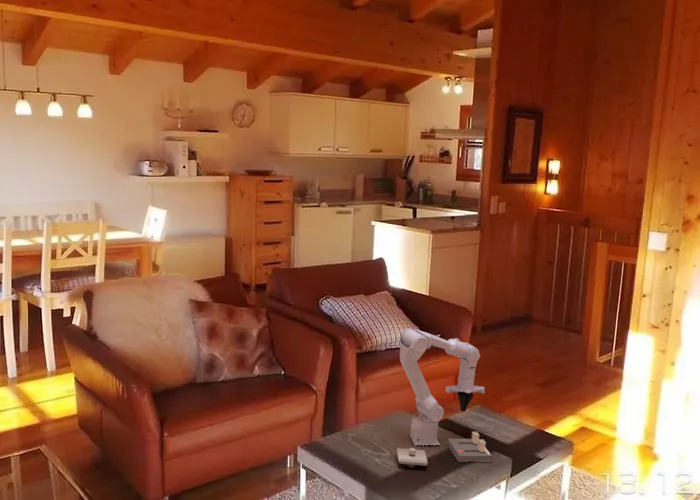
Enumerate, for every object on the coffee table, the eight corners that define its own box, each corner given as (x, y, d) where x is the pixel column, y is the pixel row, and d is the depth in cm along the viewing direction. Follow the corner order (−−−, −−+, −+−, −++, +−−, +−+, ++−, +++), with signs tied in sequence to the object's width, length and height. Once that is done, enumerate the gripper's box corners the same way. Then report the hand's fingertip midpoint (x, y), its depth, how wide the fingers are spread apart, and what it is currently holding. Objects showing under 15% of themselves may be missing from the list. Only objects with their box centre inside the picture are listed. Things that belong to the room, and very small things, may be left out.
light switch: (423, 457, 228) (425, 443, 227) (427, 471, 218) (428, 457, 217) (395, 455, 227) (397, 441, 227) (398, 469, 218) (399, 455, 217)
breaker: (473, 444, 235) (474, 435, 234) (471, 440, 237) (472, 431, 237) (478, 444, 235) (479, 435, 234) (475, 440, 237) (476, 431, 237)
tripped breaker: (479, 452, 229) (481, 442, 228) (477, 448, 231) (478, 439, 231) (484, 452, 229) (485, 442, 229) (482, 448, 232) (483, 439, 231)
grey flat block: (458, 462, 226) (459, 455, 225) (447, 445, 238) (447, 438, 238) (491, 462, 228) (492, 455, 227) (478, 445, 240) (478, 438, 240)
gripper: (451, 380, 237) (447, 415, 240) (489, 380, 240) (485, 414, 242) (445, 373, 244) (442, 407, 246) (482, 373, 247) (478, 407, 249)
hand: (462, 410), depth 245 cm, fingers closed
